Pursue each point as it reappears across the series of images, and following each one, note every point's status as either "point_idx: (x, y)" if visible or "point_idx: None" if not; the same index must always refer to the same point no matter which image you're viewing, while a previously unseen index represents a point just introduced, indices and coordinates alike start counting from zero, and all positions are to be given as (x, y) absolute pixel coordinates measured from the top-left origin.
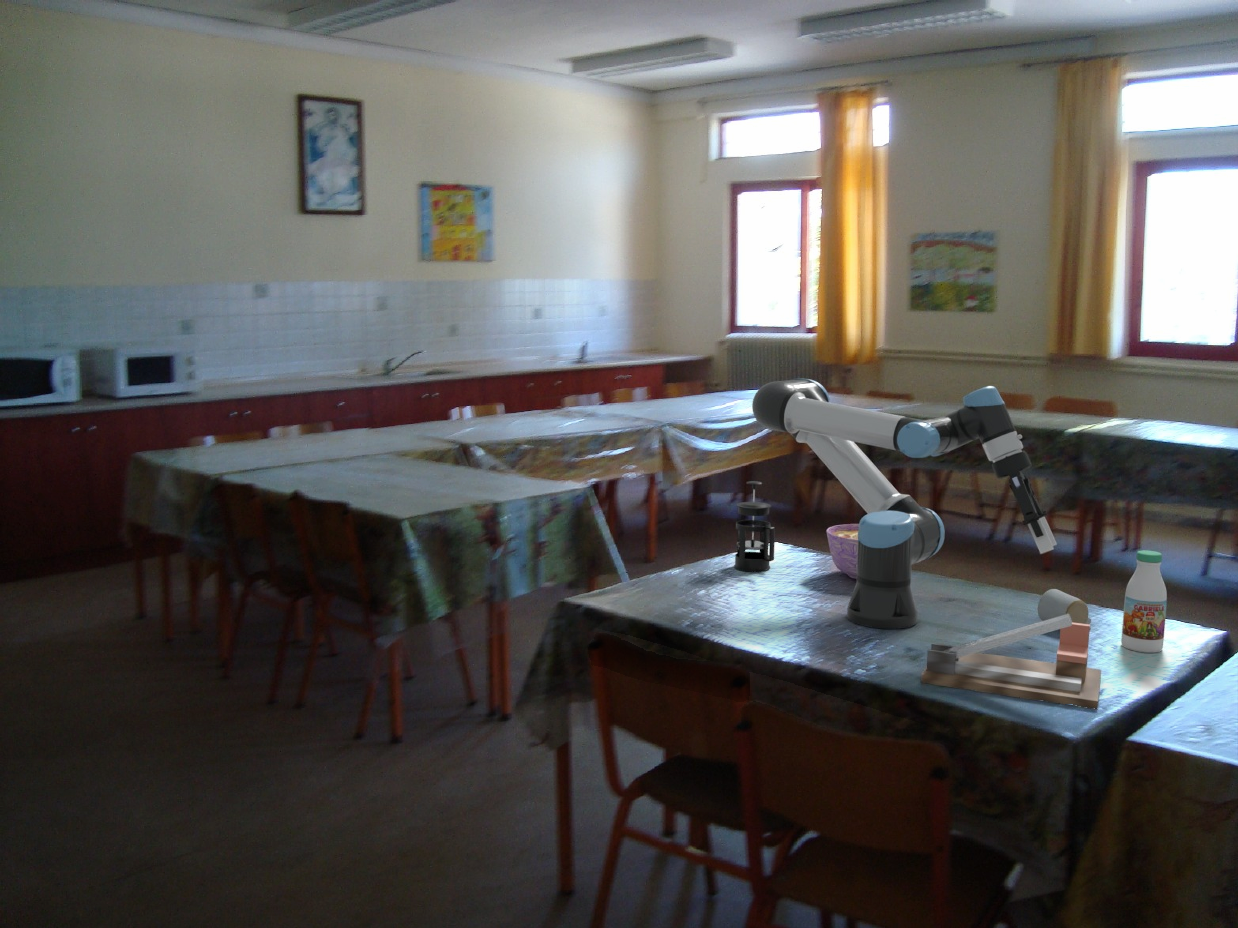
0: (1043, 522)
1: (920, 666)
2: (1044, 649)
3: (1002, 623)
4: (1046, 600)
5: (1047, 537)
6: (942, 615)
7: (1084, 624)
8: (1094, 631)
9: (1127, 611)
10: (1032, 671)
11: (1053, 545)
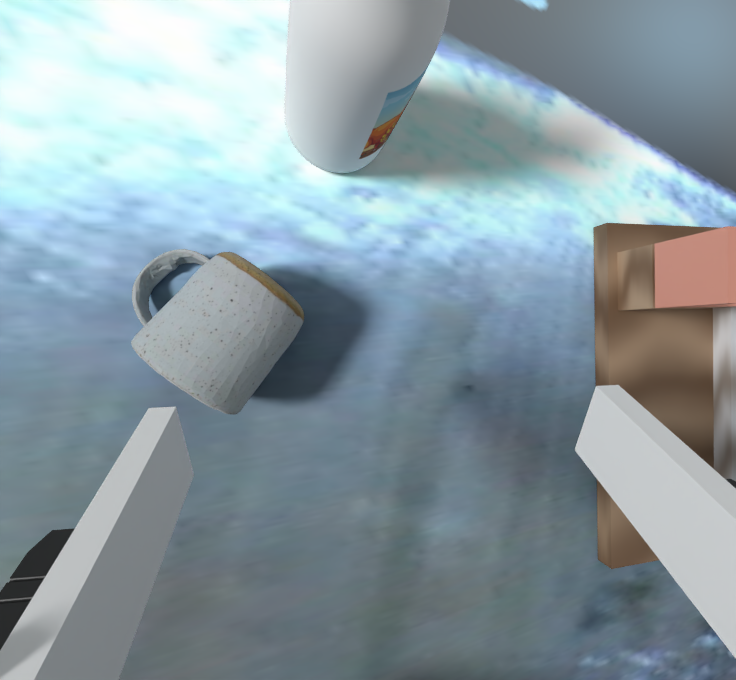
0: (84, 621)
1: None
2: (462, 354)
3: (281, 491)
4: (246, 389)
5: (678, 447)
6: (281, 660)
7: (732, 241)
8: (234, 243)
9: (393, 115)
10: (673, 355)
11: (181, 427)
